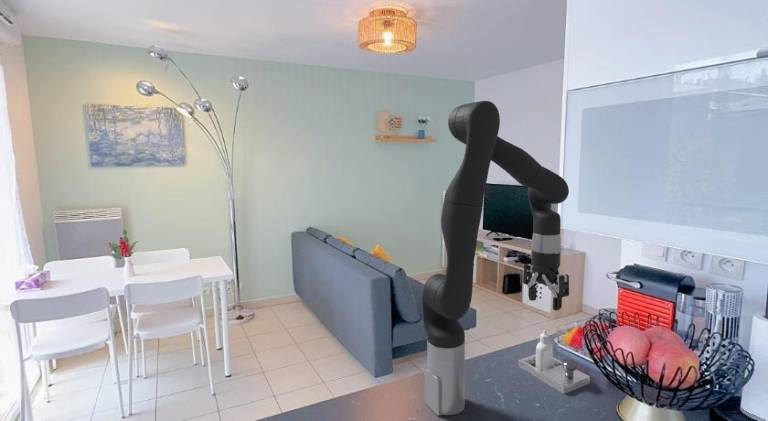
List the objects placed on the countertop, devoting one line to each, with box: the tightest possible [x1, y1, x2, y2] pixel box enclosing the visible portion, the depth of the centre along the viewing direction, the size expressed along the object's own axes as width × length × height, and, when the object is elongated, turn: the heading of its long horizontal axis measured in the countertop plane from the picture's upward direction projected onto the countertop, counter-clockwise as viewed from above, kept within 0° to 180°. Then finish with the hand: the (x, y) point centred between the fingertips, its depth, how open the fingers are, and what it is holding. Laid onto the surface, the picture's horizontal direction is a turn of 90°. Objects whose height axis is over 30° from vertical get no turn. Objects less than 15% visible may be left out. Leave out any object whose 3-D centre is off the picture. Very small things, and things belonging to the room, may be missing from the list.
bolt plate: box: [517, 353, 591, 395], centre depth 114 cm, size 10×16×6 cm, turn 26°
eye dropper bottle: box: [535, 329, 554, 372], centre depth 116 cm, size 4×6×12 cm
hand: (544, 304), depth 115 cm, fingers open, 8 cm apart
